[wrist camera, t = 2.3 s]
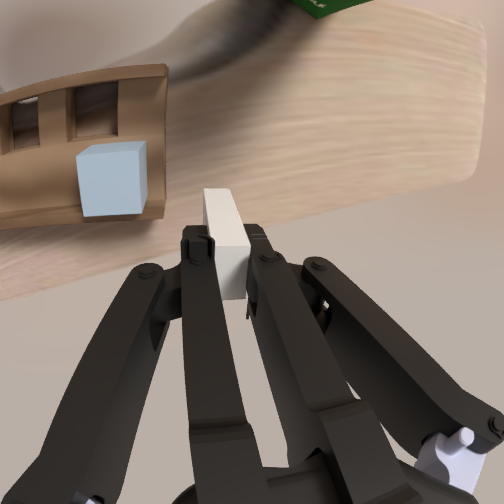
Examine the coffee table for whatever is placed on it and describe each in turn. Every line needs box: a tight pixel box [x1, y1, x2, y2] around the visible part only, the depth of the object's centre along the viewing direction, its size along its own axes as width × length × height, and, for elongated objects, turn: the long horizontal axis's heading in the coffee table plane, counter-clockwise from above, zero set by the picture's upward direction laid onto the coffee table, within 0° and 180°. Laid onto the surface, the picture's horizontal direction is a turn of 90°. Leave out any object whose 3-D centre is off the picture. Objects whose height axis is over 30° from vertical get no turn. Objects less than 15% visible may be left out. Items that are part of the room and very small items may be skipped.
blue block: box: [76, 141, 148, 217], centre depth 21 cm, size 5×5×4 cm
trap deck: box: [0, 64, 169, 230], centre depth 19 cm, size 13×24×5 cm, turn 85°
